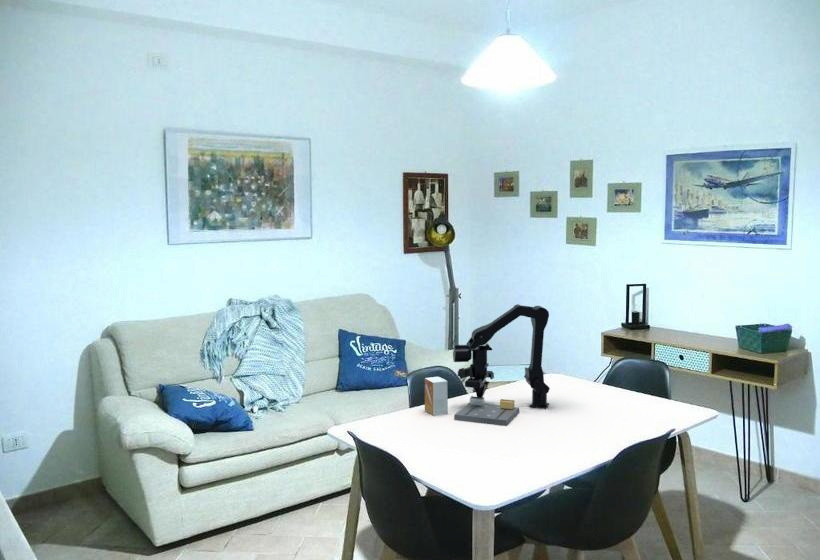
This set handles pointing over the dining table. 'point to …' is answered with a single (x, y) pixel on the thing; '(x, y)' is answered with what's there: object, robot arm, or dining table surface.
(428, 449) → the dining table surface
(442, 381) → the small box
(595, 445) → the dining table surface
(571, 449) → the dining table surface
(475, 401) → the block
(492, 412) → the mixing board
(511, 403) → the amber fader
